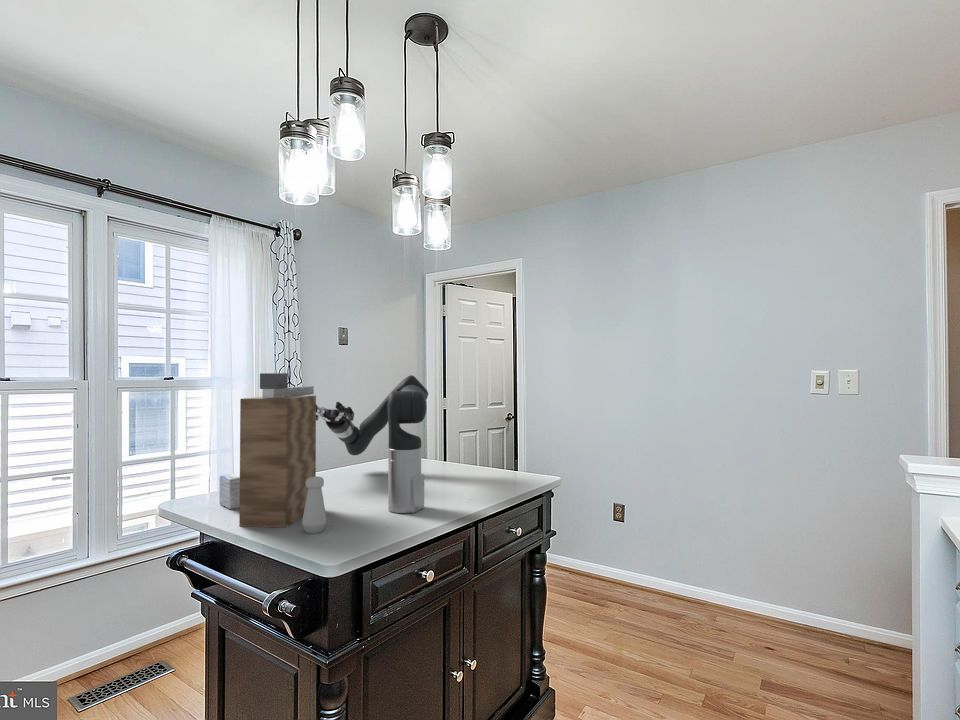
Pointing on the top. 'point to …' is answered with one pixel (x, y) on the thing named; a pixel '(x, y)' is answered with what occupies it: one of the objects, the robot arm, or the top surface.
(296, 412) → the stand
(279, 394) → the gray stepped bar
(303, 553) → the top surface
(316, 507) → the salt shaker
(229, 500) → the medicine box
